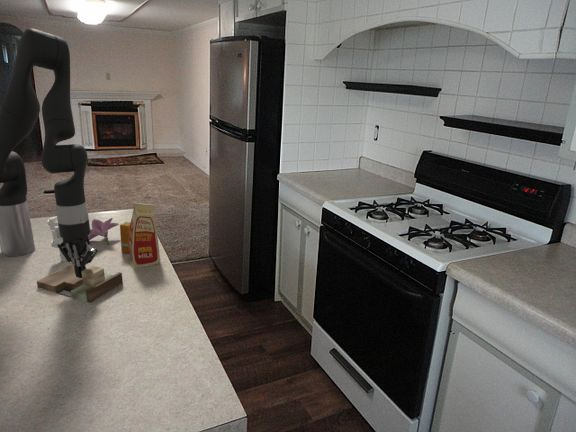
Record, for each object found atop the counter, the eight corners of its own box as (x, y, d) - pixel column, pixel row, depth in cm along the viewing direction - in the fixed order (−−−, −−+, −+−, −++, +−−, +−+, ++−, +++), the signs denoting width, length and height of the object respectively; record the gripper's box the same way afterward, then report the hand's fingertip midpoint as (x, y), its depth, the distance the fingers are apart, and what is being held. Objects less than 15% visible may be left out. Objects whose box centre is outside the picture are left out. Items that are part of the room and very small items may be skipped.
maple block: (83, 284, 118) (81, 271, 117) (94, 278, 122) (92, 265, 120) (94, 287, 117) (92, 274, 115) (105, 281, 120) (103, 268, 119)
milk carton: (133, 268, 133) (128, 207, 127) (129, 256, 141) (124, 199, 135) (163, 263, 137) (159, 203, 131) (157, 252, 145) (153, 196, 139)
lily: (126, 239, 158) (115, 215, 158) (122, 238, 147) (110, 212, 147) (93, 252, 155) (83, 227, 155) (87, 252, 144) (75, 226, 144)
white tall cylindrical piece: (48, 261, 136) (41, 217, 131) (67, 253, 142) (60, 210, 137) (65, 265, 133) (58, 220, 128) (83, 257, 139) (77, 214, 135)
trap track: (37, 287, 120) (35, 276, 118) (72, 270, 130) (71, 260, 129) (90, 302, 113) (88, 291, 112) (122, 283, 123) (121, 272, 122)
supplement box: (130, 253, 143) (128, 225, 140) (121, 252, 144) (118, 224, 141) (135, 249, 146) (133, 222, 143) (126, 248, 147) (124, 221, 144)
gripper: (43, 219, 114) (52, 277, 119) (80, 226, 109) (88, 287, 115) (66, 211, 120) (74, 266, 126) (102, 218, 116) (109, 275, 121)
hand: (81, 276), depth 120 cm, fingers closed
